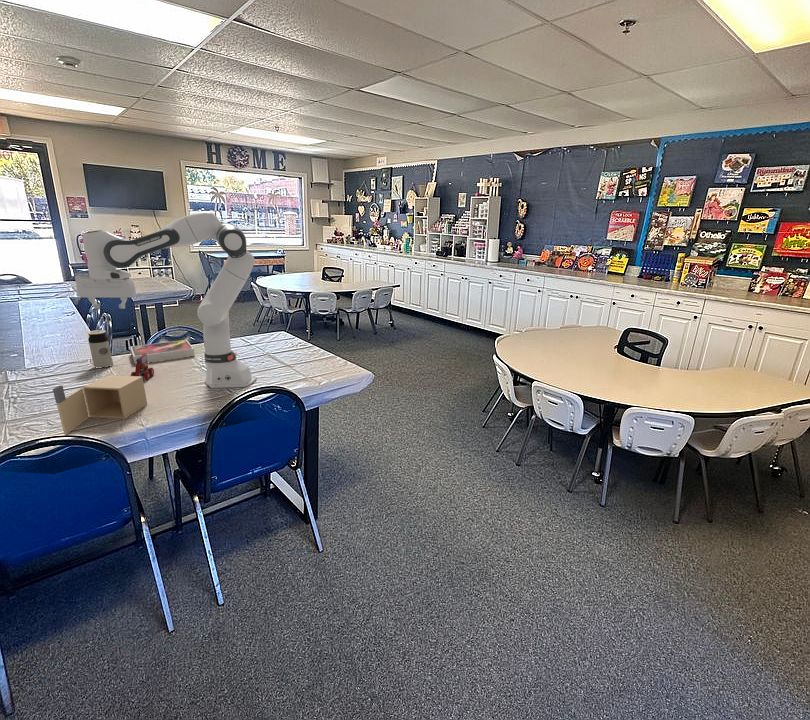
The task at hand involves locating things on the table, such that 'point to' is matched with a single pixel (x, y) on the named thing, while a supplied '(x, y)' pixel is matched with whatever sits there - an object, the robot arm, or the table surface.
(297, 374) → the table surface
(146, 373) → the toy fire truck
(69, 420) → the carton flap
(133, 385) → the carton
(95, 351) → the travel mug
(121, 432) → the table surface
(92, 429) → the table surface
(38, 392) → the table surface
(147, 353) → the product packaging
